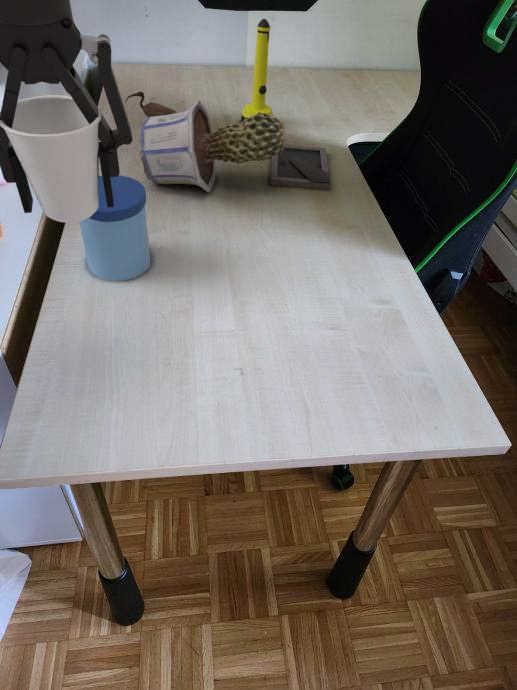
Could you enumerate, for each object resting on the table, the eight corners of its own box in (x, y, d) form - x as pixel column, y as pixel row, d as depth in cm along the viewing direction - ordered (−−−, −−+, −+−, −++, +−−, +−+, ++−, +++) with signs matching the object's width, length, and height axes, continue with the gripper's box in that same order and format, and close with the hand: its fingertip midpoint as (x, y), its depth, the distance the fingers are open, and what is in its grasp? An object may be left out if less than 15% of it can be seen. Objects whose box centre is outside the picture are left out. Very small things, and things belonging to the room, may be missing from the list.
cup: (71, 244, 55) (48, 145, 47) (6, 214, 58) (-25, 116, 50) (133, 205, 61) (121, 111, 54) (71, 179, 65) (51, 87, 57)
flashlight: (238, 14, 122) (256, 25, 117) (271, 12, 125) (290, 23, 120) (234, 120, 140) (249, 134, 135) (263, 116, 143) (279, 129, 138)
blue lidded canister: (87, 285, 89) (72, 214, 79) (85, 246, 96) (71, 176, 86) (155, 278, 91) (149, 208, 81) (148, 241, 99) (141, 172, 89)
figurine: (127, 130, 131) (123, 94, 125) (128, 122, 134) (124, 87, 128) (182, 132, 133) (181, 97, 127) (182, 124, 136) (181, 90, 130)
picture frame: (328, 190, 117) (324, 154, 130) (330, 182, 116) (326, 146, 128) (270, 185, 117) (272, 149, 130) (271, 177, 116) (272, 141, 128)
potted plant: (122, 130, 99) (277, 106, 94) (144, 99, 112) (281, 76, 107) (150, 212, 110) (290, 195, 105) (167, 176, 123) (291, 158, 119)
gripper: (141, -44, 48) (159, 181, 64) (-114, -52, 43) (-25, 192, 60) (148, -24, 43) (166, 214, 59) (-139, -31, 38) (-34, 229, 55)
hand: (70, 203), depth 59 cm, fingers closed on cup, 8 cm apart
